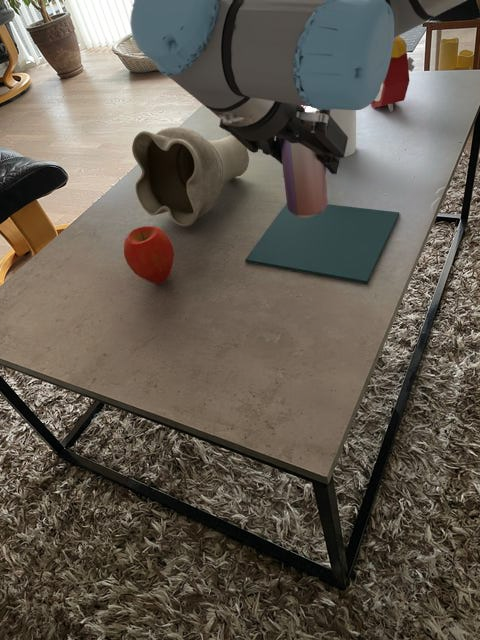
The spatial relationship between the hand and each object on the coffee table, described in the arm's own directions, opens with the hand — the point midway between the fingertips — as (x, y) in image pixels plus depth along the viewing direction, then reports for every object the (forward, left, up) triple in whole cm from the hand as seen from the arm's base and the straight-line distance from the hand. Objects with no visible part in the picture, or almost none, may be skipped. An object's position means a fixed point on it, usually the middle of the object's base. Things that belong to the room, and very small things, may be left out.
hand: (314, 162), depth 71 cm
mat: (+2, -6, -18) cm, 20 cm away
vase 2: (+12, -38, -19) cm, 44 cm away
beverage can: (0, +4, -6) cm, 7 cm away
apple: (+26, +13, -19) cm, 34 cm away
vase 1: (+30, -14, -19) cm, 38 cm away
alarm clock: (+6, -64, -19) cm, 67 cm away
